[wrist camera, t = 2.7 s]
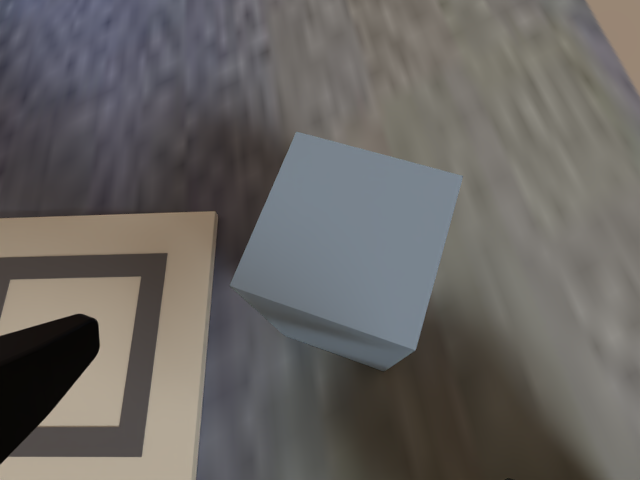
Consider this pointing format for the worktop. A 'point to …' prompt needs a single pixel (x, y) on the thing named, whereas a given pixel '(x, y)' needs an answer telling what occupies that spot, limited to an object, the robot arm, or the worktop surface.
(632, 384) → the worktop surface
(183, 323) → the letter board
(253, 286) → the blue block
